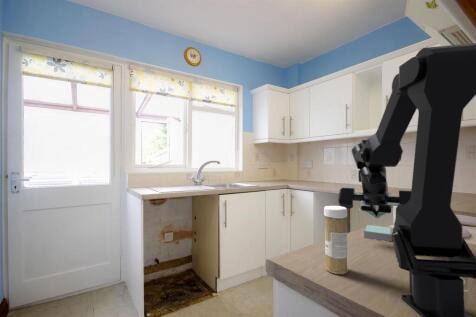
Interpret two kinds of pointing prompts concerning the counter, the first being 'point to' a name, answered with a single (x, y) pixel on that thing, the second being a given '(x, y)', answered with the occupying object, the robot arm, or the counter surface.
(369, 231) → the tile
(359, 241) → the counter surface
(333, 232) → the sprinkles bottle
